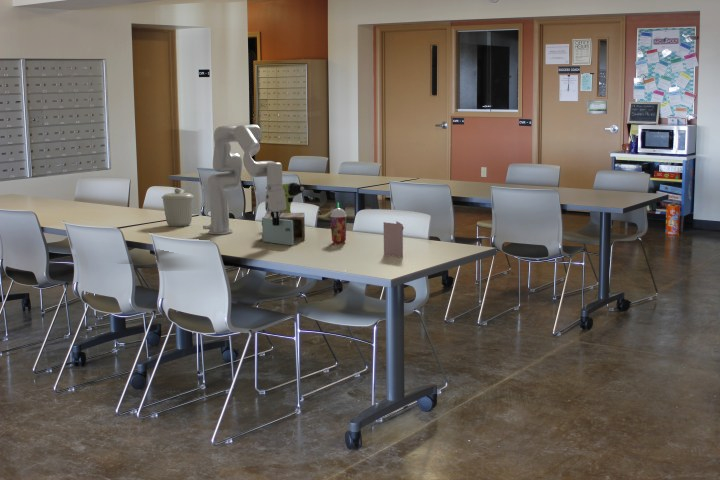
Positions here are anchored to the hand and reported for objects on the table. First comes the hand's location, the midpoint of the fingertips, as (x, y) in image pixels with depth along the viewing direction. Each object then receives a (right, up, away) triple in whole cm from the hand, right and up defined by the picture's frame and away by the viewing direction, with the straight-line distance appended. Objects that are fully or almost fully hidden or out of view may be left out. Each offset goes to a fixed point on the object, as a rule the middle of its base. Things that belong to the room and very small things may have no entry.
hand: (275, 225), depth 462 cm
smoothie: (+31, -9, +4) cm, 32 cm away
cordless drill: (+4, -1, +53) cm, 53 cm away
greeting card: (+56, -14, -31) cm, 66 cm away
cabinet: (+3, -6, +20) cm, 21 cm away
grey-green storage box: (0, -9, +4) cm, 10 cm away
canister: (-60, +1, +70) cm, 92 cm away
